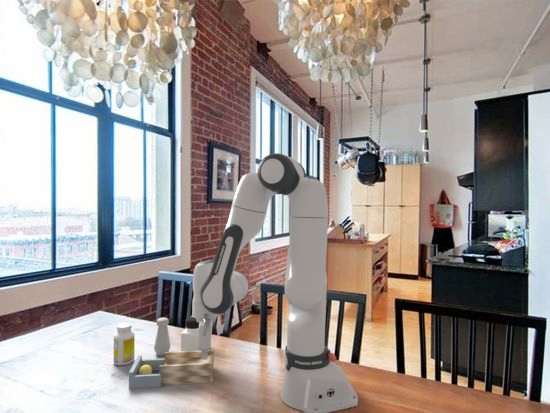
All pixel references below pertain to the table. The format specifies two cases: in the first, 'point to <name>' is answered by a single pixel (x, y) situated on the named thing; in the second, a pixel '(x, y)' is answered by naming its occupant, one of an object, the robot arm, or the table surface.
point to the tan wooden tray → (187, 367)
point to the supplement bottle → (124, 344)
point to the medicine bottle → (190, 335)
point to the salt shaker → (162, 337)
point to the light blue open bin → (145, 380)
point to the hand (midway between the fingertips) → (205, 351)
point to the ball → (145, 370)
